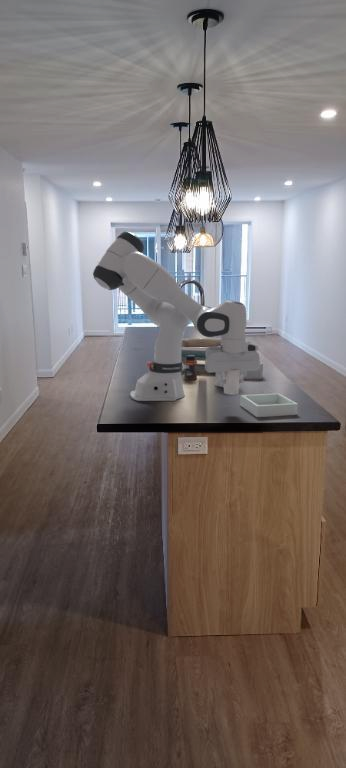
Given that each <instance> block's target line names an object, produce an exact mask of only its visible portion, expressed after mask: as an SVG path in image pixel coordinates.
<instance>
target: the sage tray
mask: <svg viewBox="0 0 346 768" xmlns="http://www.w3.org/2000/svg"><path fill="white" fill-rule="evenodd" d="M239 401H240V405H239V406H240V407H241V408H243V409H245V410H246V411H247V412H248V413H250V414H252V416H254V417H256V418H262V417H263V418H265V417H279V416H280V417H282V416H295V415H296V416H297V415H298V408H299V404H298V403H297V402H295V401H294V400H292V399H290V398H288V397H286V396H285V395H283V394H281V393H279V392H278V393H277V392H276V393H258V394H256V393H255V394H244V395H243V394H242V395H240V400H239Z"/></svg>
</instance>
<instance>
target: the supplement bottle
mask: <svg viewBox="0 0 346 768" xmlns="http://www.w3.org/2000/svg"><path fill="white" fill-rule="evenodd" d="M186 358H187V359H186V360H185V361H184V364H183V365H184V366H183V367H184V368H183V370H184V371H183V372H184V373H183V376H184V377H183V378H184V379H185V380H187V381H194V380H196V379H198V377H197V376H198V372H197V364H198V360H195V355H187V356H186Z"/></svg>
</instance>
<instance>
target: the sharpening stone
mask: <svg viewBox="0 0 346 768" xmlns="http://www.w3.org/2000/svg"><path fill="white" fill-rule="evenodd" d="M206 349H207V348H206V347H205V348H204V347H185V346H184V347H183V346H182V352H181V362H182V365H184V361H185V360H186V359H187V358H186V356H187V355H195V360H196V361H203V362H205V361H206V357H205V351H206ZM208 350H210V349H208ZM197 373H209V372H207V371H206V370H205V363H197ZM211 373H212V374H216V372H211ZM211 373H210V374H211Z"/></svg>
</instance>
